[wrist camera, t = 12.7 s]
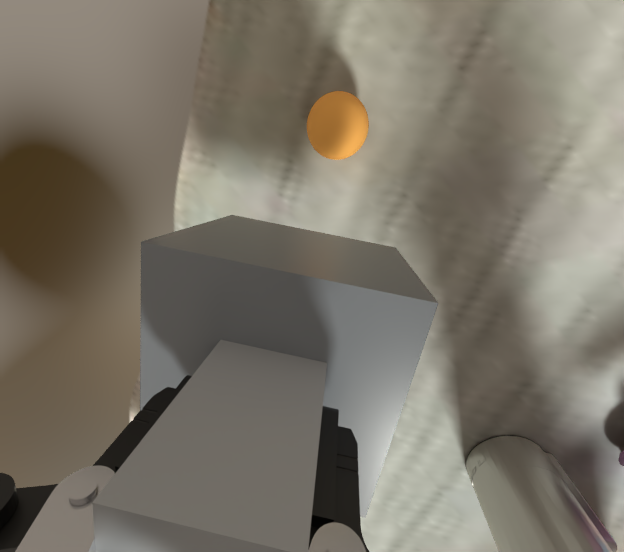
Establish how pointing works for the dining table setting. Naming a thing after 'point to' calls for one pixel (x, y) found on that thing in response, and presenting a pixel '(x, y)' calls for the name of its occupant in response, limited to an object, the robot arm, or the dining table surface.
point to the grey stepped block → (259, 382)
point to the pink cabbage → (621, 458)
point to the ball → (337, 125)
